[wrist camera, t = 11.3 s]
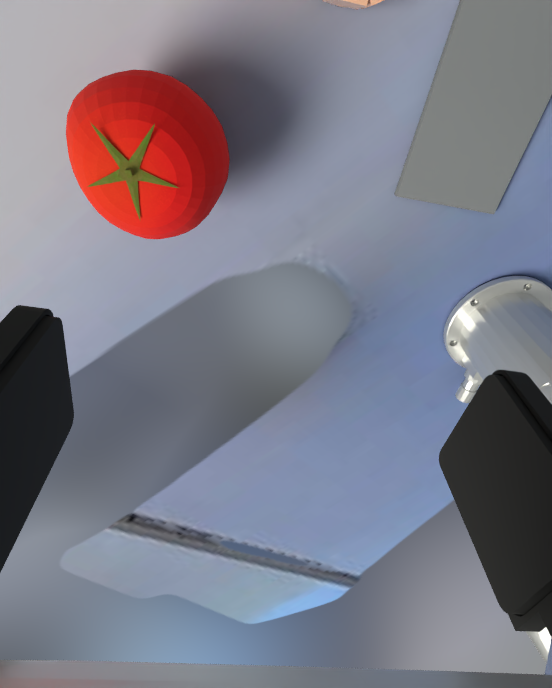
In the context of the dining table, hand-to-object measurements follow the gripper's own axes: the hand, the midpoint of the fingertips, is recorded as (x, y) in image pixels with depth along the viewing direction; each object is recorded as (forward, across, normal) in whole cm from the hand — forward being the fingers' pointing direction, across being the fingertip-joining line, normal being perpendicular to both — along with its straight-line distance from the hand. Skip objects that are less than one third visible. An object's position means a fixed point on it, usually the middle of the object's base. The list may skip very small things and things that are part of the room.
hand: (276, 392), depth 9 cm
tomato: (+34, +8, +2) cm, 34 cm away
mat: (+33, -18, -5) cm, 38 cm away
